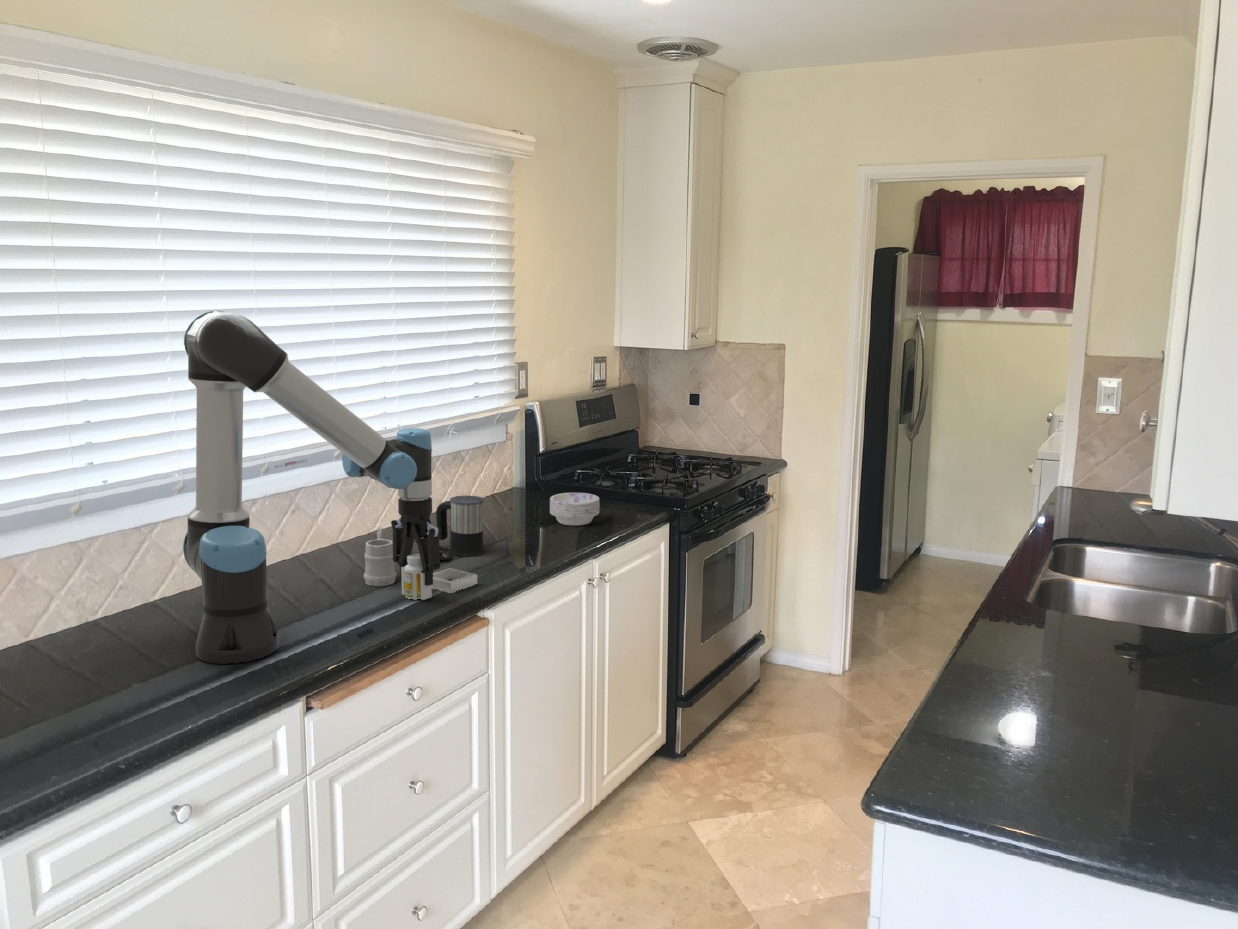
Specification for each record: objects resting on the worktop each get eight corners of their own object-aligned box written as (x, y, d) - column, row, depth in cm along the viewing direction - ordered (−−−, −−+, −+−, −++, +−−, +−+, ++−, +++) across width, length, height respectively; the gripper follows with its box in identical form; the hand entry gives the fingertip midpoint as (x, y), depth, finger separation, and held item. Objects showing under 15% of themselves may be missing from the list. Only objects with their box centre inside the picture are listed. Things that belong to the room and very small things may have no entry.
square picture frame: (450, 593, 224) (450, 583, 223) (423, 586, 229) (423, 576, 228) (477, 584, 231) (477, 574, 231) (449, 577, 236) (449, 567, 236)
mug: (363, 587, 227) (362, 538, 225) (365, 573, 238) (363, 526, 236) (396, 586, 229) (395, 537, 226) (396, 571, 240) (395, 525, 238)
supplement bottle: (430, 593, 224) (429, 553, 222) (426, 600, 218) (426, 559, 217) (407, 593, 224) (406, 552, 222) (402, 600, 218) (401, 559, 216)
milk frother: (488, 548, 263) (488, 495, 260) (473, 565, 247) (473, 508, 245) (437, 546, 264) (437, 493, 262) (420, 562, 249) (419, 506, 246)
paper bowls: (542, 525, 289) (542, 500, 288) (559, 514, 304) (560, 490, 302) (590, 530, 285) (590, 504, 284) (605, 519, 299) (606, 494, 298)
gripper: (456, 500, 215) (457, 599, 219) (398, 489, 225) (400, 584, 229) (432, 505, 209) (433, 608, 213) (374, 494, 219) (376, 592, 223)
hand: (416, 595), depth 221 cm, fingers closed on supplement bottle, 5 cm apart
